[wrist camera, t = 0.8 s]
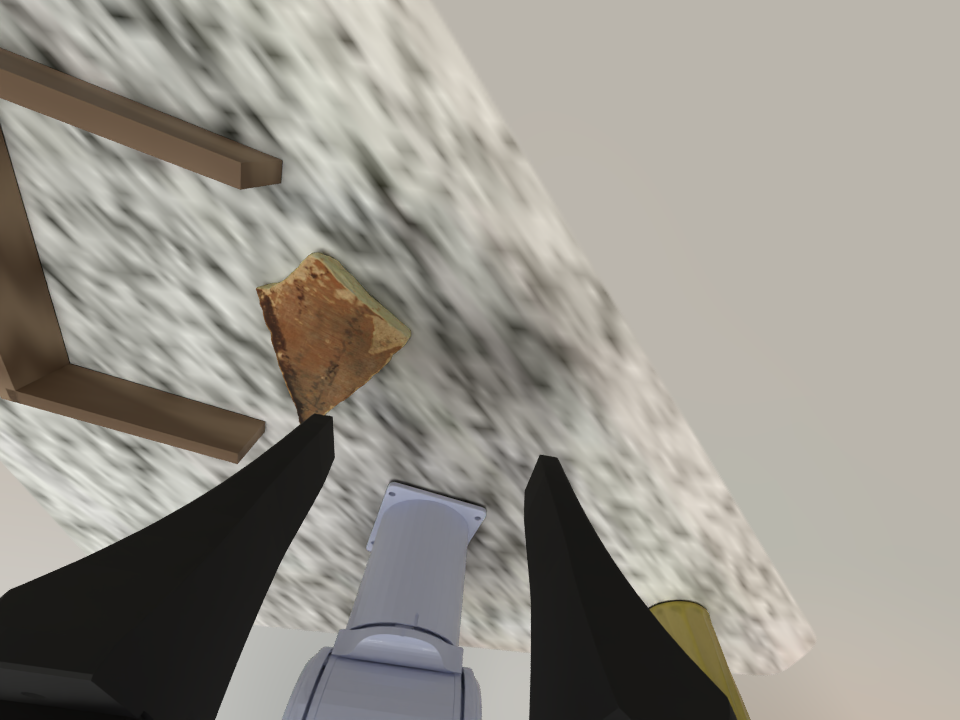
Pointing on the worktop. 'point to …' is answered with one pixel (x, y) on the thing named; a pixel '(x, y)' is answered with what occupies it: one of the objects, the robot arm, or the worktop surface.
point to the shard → (327, 333)
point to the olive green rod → (700, 646)
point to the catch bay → (24, 294)
